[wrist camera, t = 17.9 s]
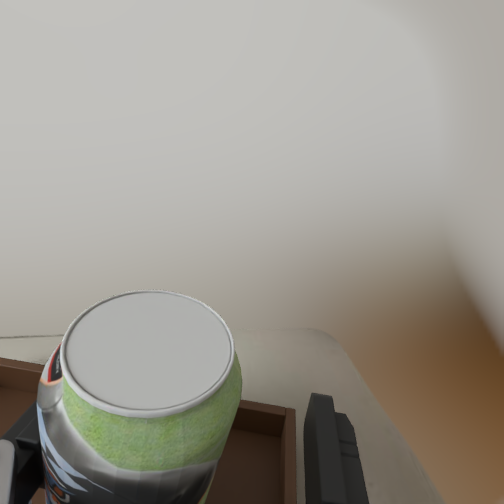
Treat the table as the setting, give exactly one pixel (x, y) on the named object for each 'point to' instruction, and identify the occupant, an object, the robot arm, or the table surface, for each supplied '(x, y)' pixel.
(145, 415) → the beverage can
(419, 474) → the table surface
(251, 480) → the serving tray
